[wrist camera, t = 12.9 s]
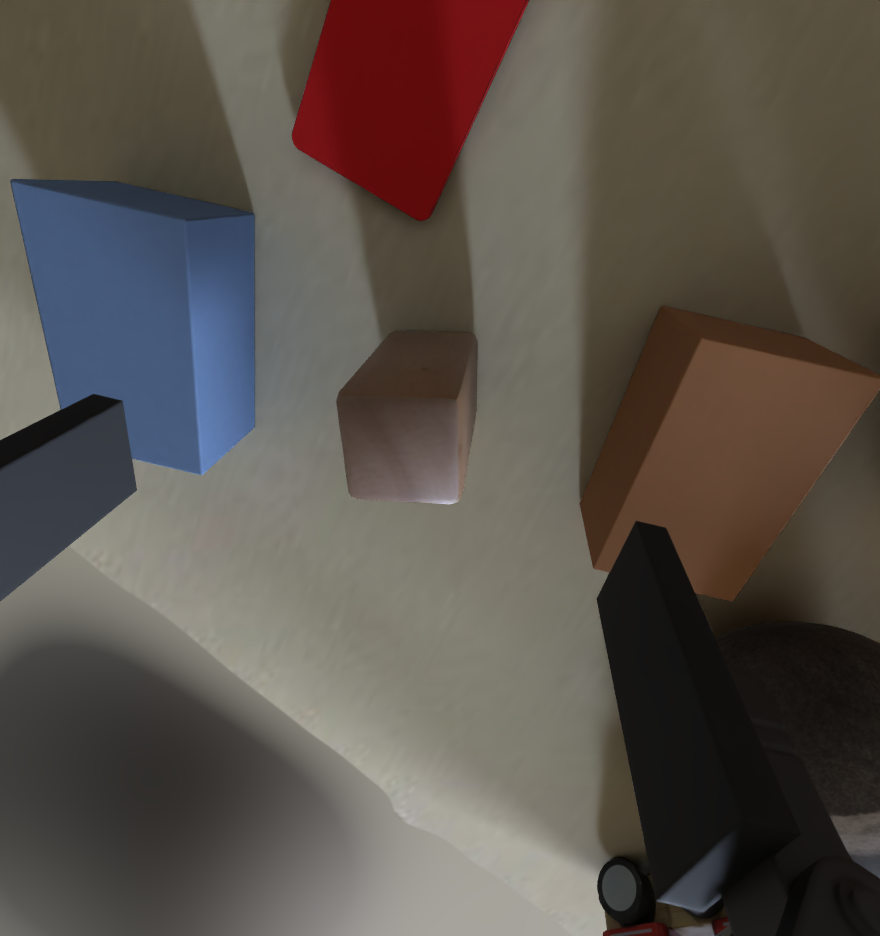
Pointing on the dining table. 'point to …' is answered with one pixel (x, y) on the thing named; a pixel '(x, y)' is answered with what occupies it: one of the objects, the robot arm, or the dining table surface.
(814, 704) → the grey blue cap
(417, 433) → the wooden block
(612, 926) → the toy fire truck
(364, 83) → the electronic device
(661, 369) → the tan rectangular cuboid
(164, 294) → the blue rectangular block
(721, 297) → the dining table surface
